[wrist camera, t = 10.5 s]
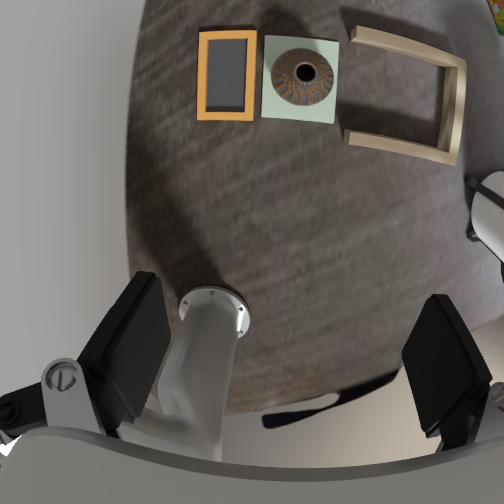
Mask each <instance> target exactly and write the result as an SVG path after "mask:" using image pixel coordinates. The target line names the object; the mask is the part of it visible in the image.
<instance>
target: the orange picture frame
mask: <svg viewBox="0 0 504 504" xmlns="http://www.w3.org/2000/svg"><path fill="white" fill-rule="evenodd" d="M256 48H257V31H256V30H237V31H211V32H200V34H199V56H198V92H197V120H247V121H253V120H254V96H255V72H256Z"/></svg>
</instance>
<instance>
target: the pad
mask: <svg viewBox="0 0 504 504" xmlns="http://www.w3.org/2000/svg"><path fill="white" fill-rule="evenodd" d="M295 48H307V49H311V50H314V51H316V52H318V53H320V54H321V55H322V56H324V57H325V58H326V59H327V61H328V62H329V63H330V65H331V67H332V70H333V73H334V84H333V87H332V90H331V92H330V93H329V95H328V96H327V97H326V98H325V99H324V100H322V101H321V102H319V103H317V104H314V105H310V106H297V105H293V104H291V103H288V102H287V101H285V100H283V99H282V98H281V97H280V96H279V95H278V94H277V93H276V91H275V90H274V88H273V85H272V82H271V69H272V66H273V64H274V62H275V60H276V59H277V58H278V57H279V56H280V55H281V54H282V53H284V52H286V51H288V50H291V49H295ZM338 51H339V42H333V41H326V40H318V39H310V38H300V37H289V36H272V35H265V47H264V71H263V93H262V115H261V117H271V118H285V119H297V120H307V121H316V122H325V123H332V124H334V115H335V102H336V88H337V72H338Z"/></svg>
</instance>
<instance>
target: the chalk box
mask: <svg viewBox="0 0 504 504" xmlns="http://www.w3.org/2000/svg"><path fill="white" fill-rule="evenodd" d="M488 2H489V5H490V8H491V10H492V13H493V16H494V19H495V22H496V25H497V29H498V32H499V34H500V35H502V36H504V0H488Z"/></svg>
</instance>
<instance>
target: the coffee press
mask: <svg viewBox="0 0 504 504" xmlns="http://www.w3.org/2000/svg"><path fill="white" fill-rule="evenodd" d="M465 183H466V184H467V185H468V186H470V187H471V188H472V189H473V190H474V191H476V193H475V196H474V199H473V203H472V209H471V219H472V224H473V228H474V229H472V230H469V231H468V233H467V238H468V239H469V240H471V241H472V242H476V241H480V242H482V241H483V242H484V243H485V244H486V245H485V244H484V243H483V242H482V243H483V244H484V245H485V246H486V247H487V248H488V249H489V250H490V251H491V252H492V253H493V254H494V255H495V254H496V255H497V256H498V257H499V258H500V259H501V260H500V259H499V258H498V257H497V256H496V255H495V256H496V257H497V258H498V259H499V260H500V261H501V275H502V279H503V283H504V171H499V172H495V173H492V174H490V175H489V176H488V177H486V178H485V179H484V180H483V181H482V183H479V182H478V181H477V180H475V179H474V178H473V177H471V176H470V175H468V177H467V179H466V181H465ZM474 234H477V235H478V236H479V238H480V239H481V240H482V241H481V240H480V239H479V238H477V237H472V235H474Z"/></svg>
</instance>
